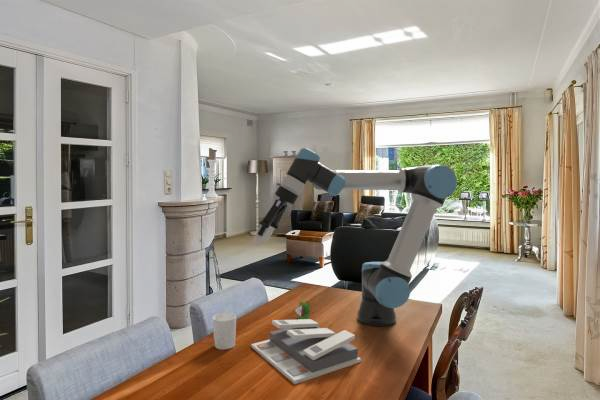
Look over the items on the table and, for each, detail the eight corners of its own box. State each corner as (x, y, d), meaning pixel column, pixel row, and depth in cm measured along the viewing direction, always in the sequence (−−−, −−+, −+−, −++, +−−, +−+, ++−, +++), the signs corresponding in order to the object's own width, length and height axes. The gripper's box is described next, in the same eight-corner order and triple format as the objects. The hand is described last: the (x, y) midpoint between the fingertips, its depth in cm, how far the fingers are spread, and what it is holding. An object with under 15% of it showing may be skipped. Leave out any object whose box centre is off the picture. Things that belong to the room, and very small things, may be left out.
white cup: (231, 351, 128) (231, 321, 128) (209, 349, 130) (208, 320, 129) (240, 341, 136) (239, 313, 135) (218, 339, 138) (218, 311, 137)
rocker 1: (310, 322, 142) (310, 318, 142) (317, 326, 138) (318, 323, 138) (271, 323, 134) (272, 320, 134) (278, 328, 129) (279, 324, 129)
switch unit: (310, 331, 144) (310, 321, 144) (361, 361, 121) (361, 349, 120) (251, 347, 132) (251, 335, 131) (294, 384, 108) (294, 370, 108)
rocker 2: (326, 331, 134) (326, 327, 134) (335, 336, 129) (335, 332, 129) (286, 333, 125) (286, 329, 125) (294, 339, 121) (295, 335, 121)
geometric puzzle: (300, 308, 163) (296, 297, 158) (316, 310, 161) (312, 298, 156) (296, 323, 158) (291, 312, 153) (312, 325, 156) (308, 314, 151)
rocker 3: (345, 333, 125) (344, 329, 125) (355, 338, 121) (354, 334, 121) (303, 353, 117) (303, 349, 117) (313, 360, 113) (312, 356, 113)
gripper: (285, 187, 149) (257, 236, 149) (274, 180, 124) (241, 238, 124) (302, 197, 148) (274, 246, 148) (294, 192, 123) (261, 250, 123)
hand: (259, 243), depth 136 cm, fingers open, 13 cm apart
